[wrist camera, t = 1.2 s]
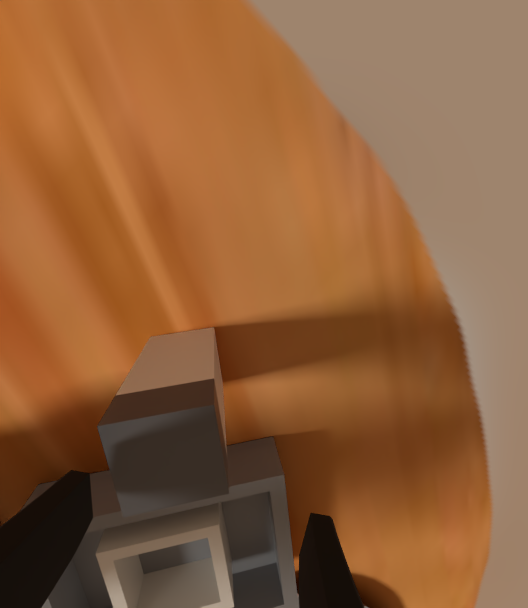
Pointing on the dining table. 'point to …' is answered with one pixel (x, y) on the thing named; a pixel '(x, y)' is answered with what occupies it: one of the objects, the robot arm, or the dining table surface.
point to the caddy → (188, 545)
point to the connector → (168, 425)
